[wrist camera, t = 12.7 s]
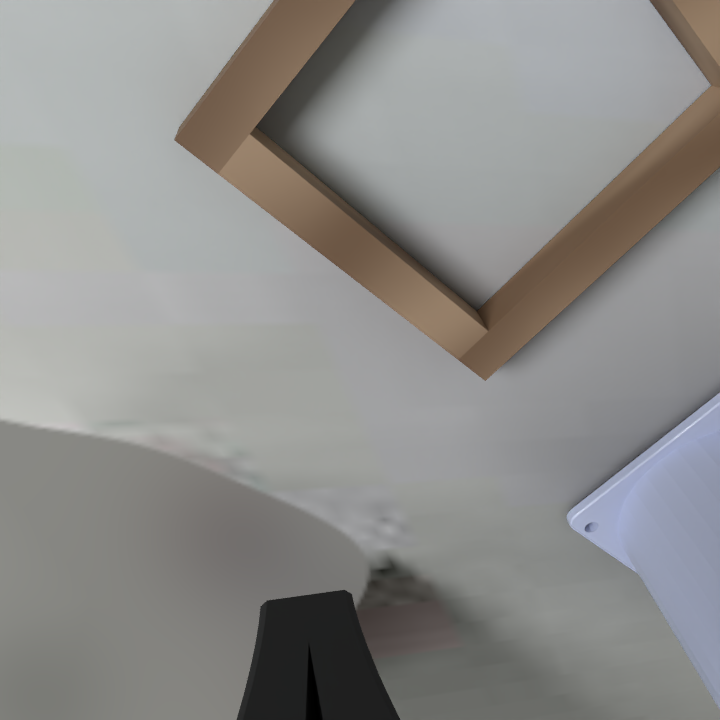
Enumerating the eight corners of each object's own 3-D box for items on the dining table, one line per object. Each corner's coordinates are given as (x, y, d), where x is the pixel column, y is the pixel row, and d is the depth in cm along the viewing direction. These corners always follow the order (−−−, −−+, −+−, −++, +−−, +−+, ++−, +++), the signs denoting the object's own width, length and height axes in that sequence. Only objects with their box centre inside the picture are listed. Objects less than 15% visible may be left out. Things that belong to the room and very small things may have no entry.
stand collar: (773, 80, 18) (804, 89, 17) (474, 359, 21) (485, 380, 20) (508, -315, 13) (530, -336, 12) (179, 127, 16) (174, 140, 15)
